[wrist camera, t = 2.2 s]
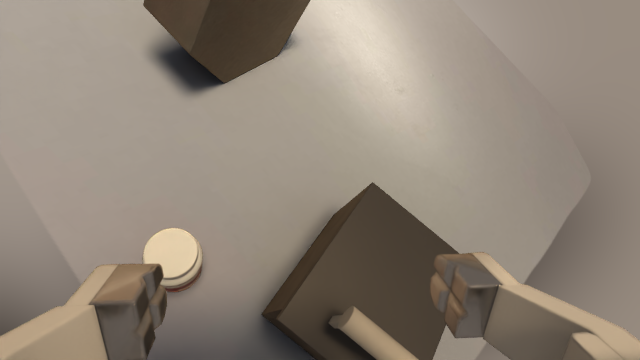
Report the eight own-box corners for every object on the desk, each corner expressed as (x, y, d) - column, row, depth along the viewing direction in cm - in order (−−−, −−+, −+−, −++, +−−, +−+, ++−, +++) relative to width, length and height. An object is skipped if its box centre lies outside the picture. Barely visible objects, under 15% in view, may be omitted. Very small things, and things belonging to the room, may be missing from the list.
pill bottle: (154, 244, 33) (142, 221, 26) (203, 245, 35) (205, 223, 27) (147, 293, 31) (132, 283, 24) (199, 292, 33) (200, 282, 26)
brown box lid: (401, 423, 25) (444, 443, 20) (275, 319, 25) (291, 317, 20) (464, 263, 33) (505, 253, 28) (369, 185, 33) (395, 162, 28)
